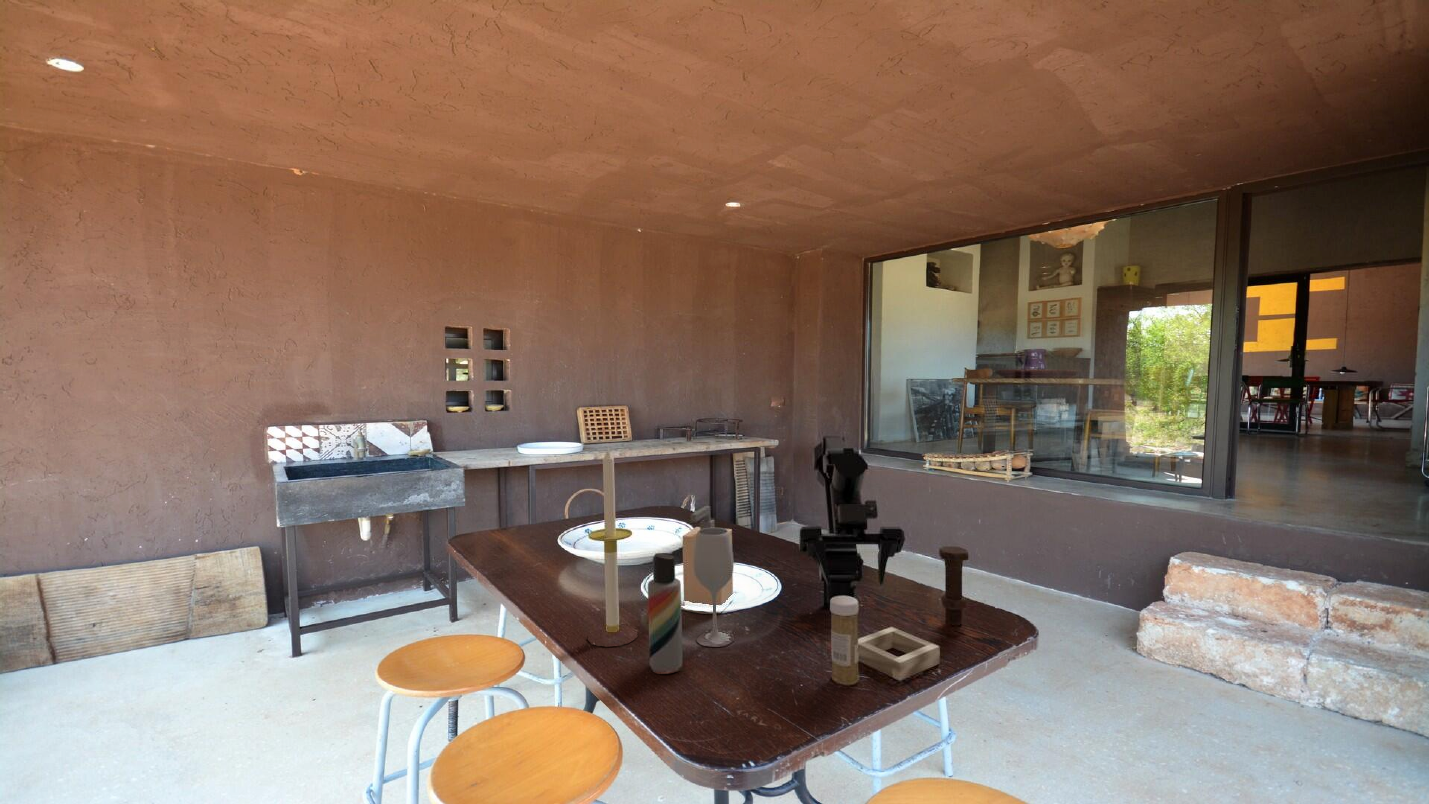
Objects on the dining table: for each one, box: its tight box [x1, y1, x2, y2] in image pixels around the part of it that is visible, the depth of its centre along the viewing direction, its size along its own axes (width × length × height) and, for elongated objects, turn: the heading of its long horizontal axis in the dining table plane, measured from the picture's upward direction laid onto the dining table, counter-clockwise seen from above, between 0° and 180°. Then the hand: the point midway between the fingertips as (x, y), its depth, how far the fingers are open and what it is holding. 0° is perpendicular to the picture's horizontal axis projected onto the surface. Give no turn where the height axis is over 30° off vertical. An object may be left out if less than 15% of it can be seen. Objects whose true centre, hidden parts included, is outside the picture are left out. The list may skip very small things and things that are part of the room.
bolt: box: [938, 545, 969, 626], centre depth 125 cm, size 6×5×15 cm
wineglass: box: [694, 527, 735, 644], centre depth 119 cm, size 8×8×21 cm
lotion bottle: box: [647, 552, 683, 671], centre depth 108 cm, size 6×6×20 cm
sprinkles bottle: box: [829, 596, 860, 686], centre depth 103 cm, size 5×5×14 cm
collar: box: [858, 626, 941, 682], centre depth 110 cm, size 10×10×3 cm
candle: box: [587, 448, 633, 632], centre depth 121 cm, size 10×10×38 cm
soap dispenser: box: [682, 505, 734, 605], centre depth 136 cm, size 13×9×22 cm
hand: (854, 583), depth 110 cm, fingers open, 9 cm apart
